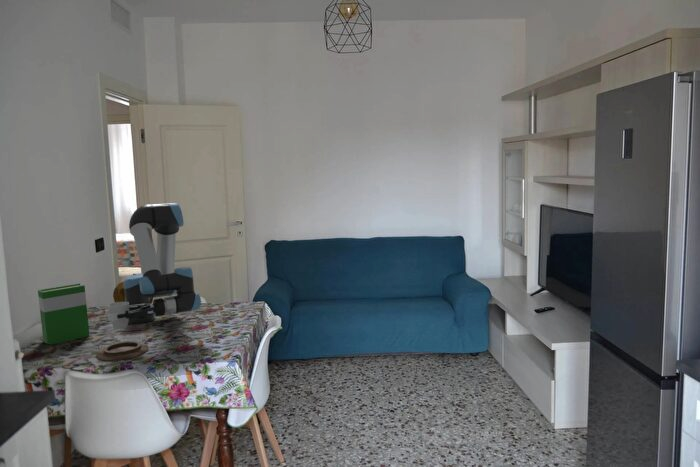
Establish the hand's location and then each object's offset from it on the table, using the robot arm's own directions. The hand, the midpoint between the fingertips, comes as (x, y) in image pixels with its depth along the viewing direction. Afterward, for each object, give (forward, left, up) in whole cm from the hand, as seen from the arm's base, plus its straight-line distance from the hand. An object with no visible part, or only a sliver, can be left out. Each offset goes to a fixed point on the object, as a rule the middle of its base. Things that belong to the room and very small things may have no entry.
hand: (106, 315), depth 224 cm
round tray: (-4, +3, -17) cm, 17 cm away
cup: (-3, +3, -6) cm, 8 cm away
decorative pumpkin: (-72, -39, -17) cm, 83 cm away
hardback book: (-18, -37, -17) cm, 44 cm away
